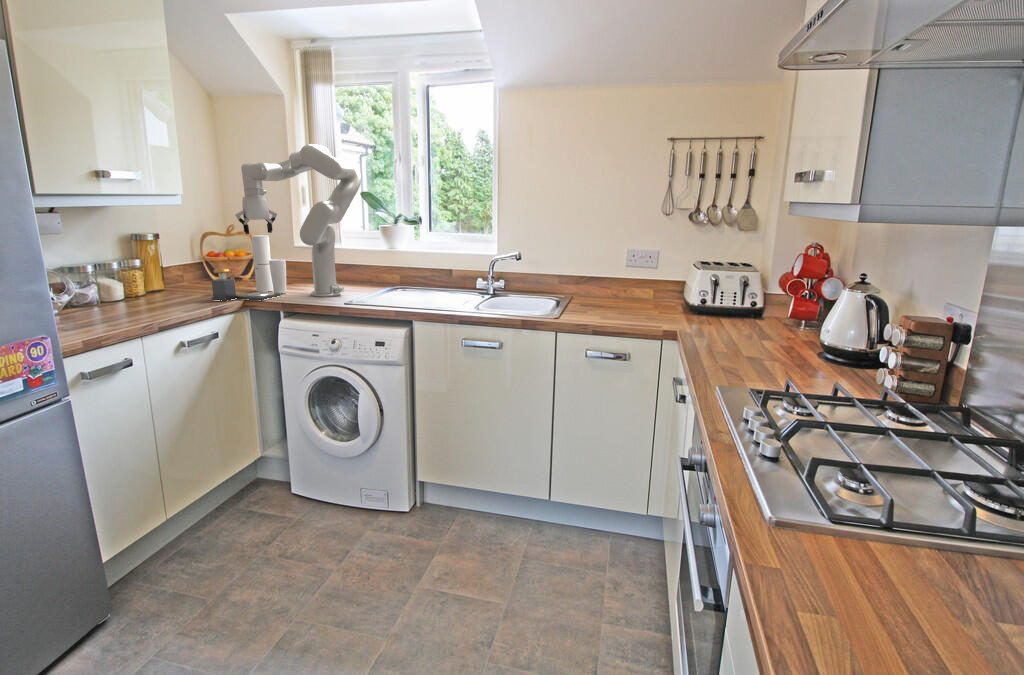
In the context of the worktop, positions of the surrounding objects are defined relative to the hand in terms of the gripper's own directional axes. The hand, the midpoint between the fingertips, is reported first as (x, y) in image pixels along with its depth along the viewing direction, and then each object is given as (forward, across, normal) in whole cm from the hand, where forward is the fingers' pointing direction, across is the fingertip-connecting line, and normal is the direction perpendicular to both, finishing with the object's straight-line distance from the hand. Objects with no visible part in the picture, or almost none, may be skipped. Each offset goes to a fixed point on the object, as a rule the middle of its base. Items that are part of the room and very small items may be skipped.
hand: (258, 233), depth 253 cm
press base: (+26, +12, +12) cm, 31 cm away
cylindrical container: (+26, 0, -2) cm, 27 cm away
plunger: (+22, +20, +10) cm, 31 cm away
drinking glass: (+27, -4, +8) cm, 28 cm away
